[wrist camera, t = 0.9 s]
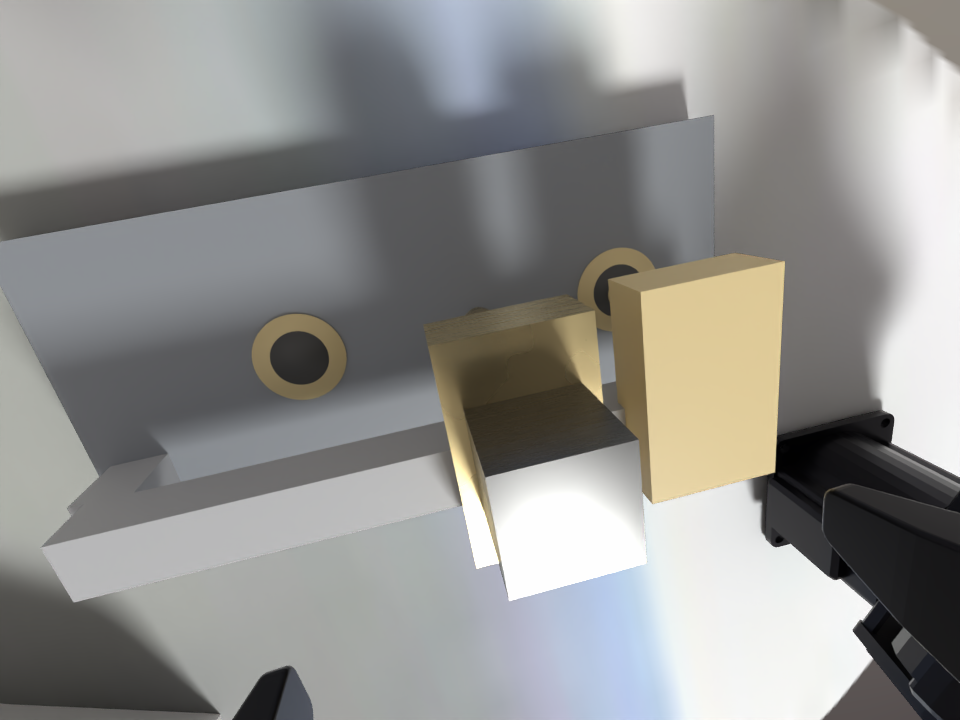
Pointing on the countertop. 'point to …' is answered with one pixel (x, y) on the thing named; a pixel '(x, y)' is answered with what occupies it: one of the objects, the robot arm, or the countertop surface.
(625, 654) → the countertop surface
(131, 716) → the white curved block
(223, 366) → the plate
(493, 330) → the block
